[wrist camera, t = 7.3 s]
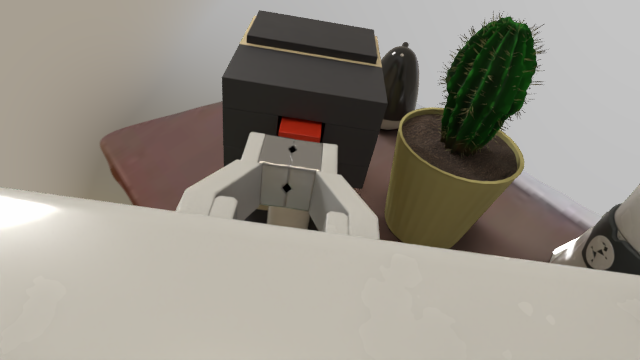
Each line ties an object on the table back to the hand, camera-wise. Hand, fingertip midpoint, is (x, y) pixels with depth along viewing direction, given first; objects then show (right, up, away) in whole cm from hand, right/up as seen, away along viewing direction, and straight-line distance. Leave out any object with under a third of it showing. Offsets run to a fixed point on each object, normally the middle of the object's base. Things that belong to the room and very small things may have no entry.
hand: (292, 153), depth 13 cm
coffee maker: (-3, -7, +40) cm, 41 cm away
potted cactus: (+16, -7, +44) cm, 47 cm away
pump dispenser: (+13, +11, +63) cm, 65 cm away
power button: (-1, +1, +23) cm, 23 cm away
